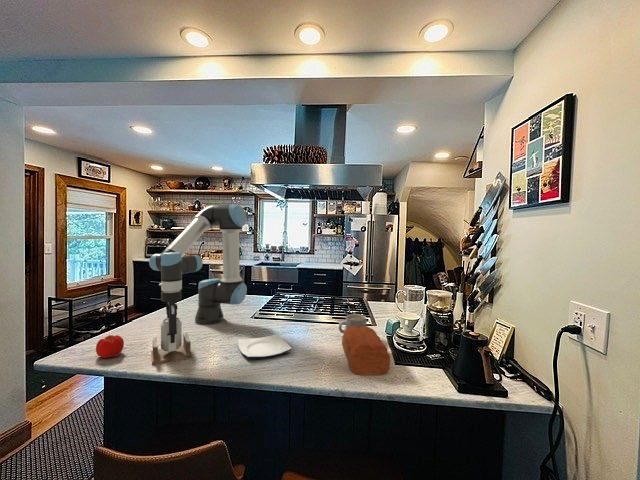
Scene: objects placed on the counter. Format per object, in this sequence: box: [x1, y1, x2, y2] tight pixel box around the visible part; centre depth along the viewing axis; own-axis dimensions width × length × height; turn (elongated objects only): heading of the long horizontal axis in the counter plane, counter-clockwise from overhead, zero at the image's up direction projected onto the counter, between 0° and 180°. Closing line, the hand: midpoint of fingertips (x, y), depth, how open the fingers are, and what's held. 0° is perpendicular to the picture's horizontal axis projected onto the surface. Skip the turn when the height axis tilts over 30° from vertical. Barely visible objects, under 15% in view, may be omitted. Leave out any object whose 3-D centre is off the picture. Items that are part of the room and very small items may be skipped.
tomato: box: [95, 334, 125, 359], centre depth 119 cm, size 9×9×8 cm
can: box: [160, 316, 183, 351], centre depth 120 cm, size 8×8×12 cm
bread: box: [341, 325, 391, 376], centre depth 120 cm, size 16×27×11 cm, turn 4°
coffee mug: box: [338, 313, 367, 335], centre depth 144 cm, size 13×10×10 cm
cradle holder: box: [150, 332, 193, 366], centre depth 120 cm, size 14×12×7 cm
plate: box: [237, 333, 293, 360], centre depth 128 cm, size 20×20×3 cm
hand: (171, 346), depth 120 cm, fingers closed on can, 7 cm apart
